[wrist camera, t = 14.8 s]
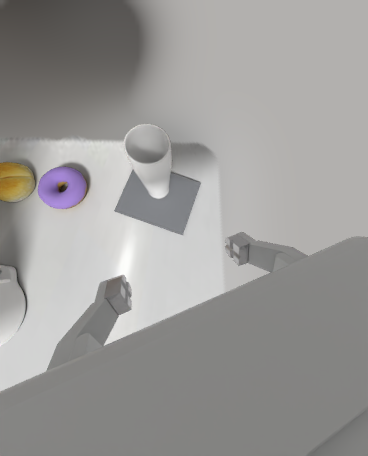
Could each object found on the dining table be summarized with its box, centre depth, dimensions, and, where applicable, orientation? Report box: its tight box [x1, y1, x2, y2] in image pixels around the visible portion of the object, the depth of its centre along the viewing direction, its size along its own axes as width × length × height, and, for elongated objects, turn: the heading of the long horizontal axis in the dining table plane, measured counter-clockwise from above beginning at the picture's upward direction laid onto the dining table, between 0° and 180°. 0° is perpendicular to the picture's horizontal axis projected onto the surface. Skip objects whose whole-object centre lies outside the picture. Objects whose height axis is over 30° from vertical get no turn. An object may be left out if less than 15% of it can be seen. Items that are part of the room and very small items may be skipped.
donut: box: [38, 167, 87, 209], centre depth 32 cm, size 10×9×5 cm
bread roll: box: [0, 162, 35, 202], centre depth 31 cm, size 8×9×4 cm
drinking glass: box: [124, 124, 172, 199], centre depth 27 cm, size 7×7×15 cm
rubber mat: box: [114, 170, 201, 235], centre depth 35 cm, size 17×14×1 cm
